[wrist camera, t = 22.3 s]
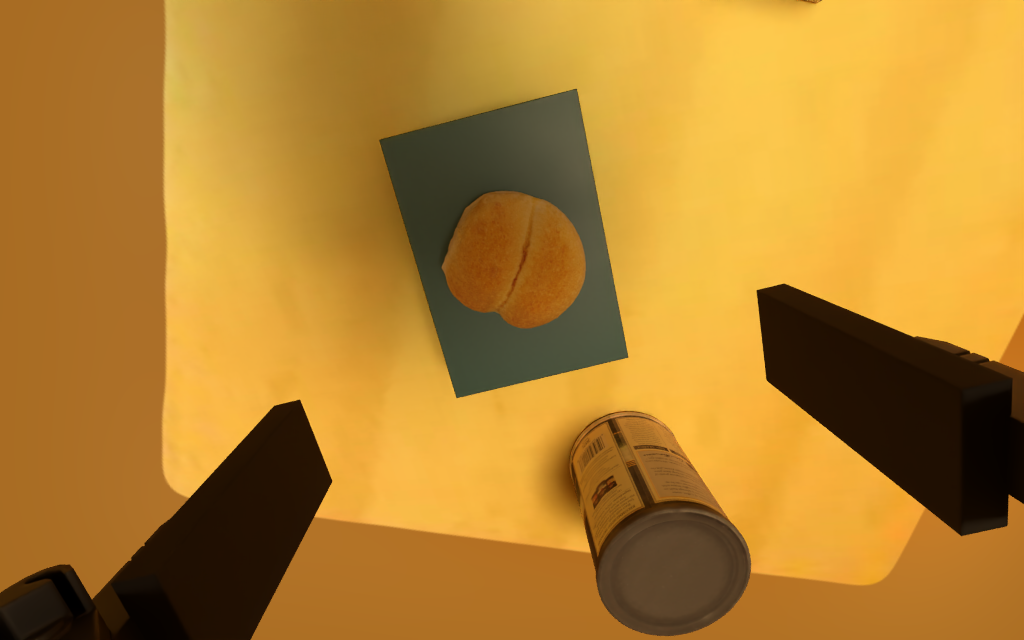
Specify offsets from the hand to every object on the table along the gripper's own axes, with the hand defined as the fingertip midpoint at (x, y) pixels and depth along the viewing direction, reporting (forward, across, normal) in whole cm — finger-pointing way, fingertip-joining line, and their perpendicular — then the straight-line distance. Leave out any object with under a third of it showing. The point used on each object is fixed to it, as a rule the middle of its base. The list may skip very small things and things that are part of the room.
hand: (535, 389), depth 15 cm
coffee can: (+29, +6, -22) cm, 37 cm away
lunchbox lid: (+22, 0, 0) cm, 22 cm away
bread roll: (+21, 0, 0) cm, 21 cm away
